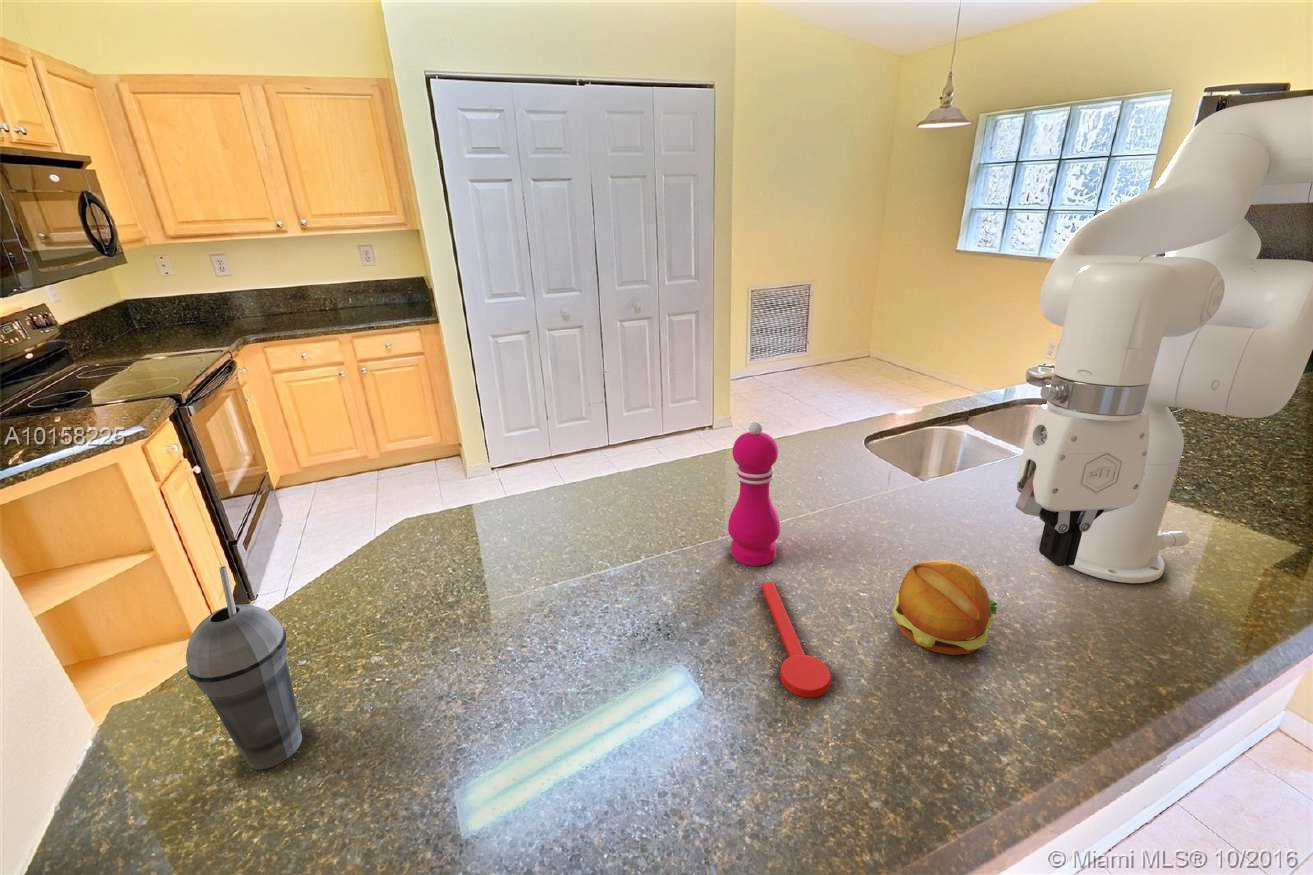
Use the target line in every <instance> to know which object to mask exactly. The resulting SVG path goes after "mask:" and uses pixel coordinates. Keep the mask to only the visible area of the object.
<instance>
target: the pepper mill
mask: <svg viewBox="0 0 1313 875" xmlns="http://www.w3.org/2000/svg"><path fill="white" fill-rule="evenodd" d="M731 452H732V458H733V461H734V462H735V463H736V464H737V466H736V467H735V472H736V474H735V477H736V479H737V480H738V481H739V493H738V498H737V501H736V502H735V505H734V507H733V508H732V511H731V512H730V516H729V518H728V525H727V531H728V534H729V536H730V537H731V539H732V540H731V550H730V551H731V556H732V558H733V559H734V560H735V561H736V562H738V563H740V564H742V565H746V566H750V567H760V566H765V565H768V564H771V563H772V562H773V561H774V560H775V559H776V556H777V543H776V540H777V539H778V538H779V536H780V534H781V522H780V518H779V515H778V513H777V510H776V508H775V506H774V504H773V502H772V499H771V495H770V494H771V493H770V484H771V481H773V479H774V472H775V468H774V466H773V465H774V464H775V463H776V462H777V460H778V457H779V447H778V444H777V442H776V440H775V438H774V437H773V436H771V435H770V434H768V433H766V432H763V425H762V424H761V423H760V422H758V421H752V422H751V423H750V424H749V426H748V431H747V432H745V433H742V434H740V435H739V436H738V437H737V438H736V439H735V441H734V443H733V446H732V451H731Z"/></svg>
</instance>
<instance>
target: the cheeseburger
mask: <svg viewBox="0 0 1313 875" xmlns="http://www.w3.org/2000/svg"><path fill="white" fill-rule="evenodd" d="M997 605H998V603H997V602H996V601H994V600H992V599H991V598H990V596H989V593H988V590H987V588H986V586H985V584H984V582H983V581H982V579H981V578H980V577H979V576H978V574H977V573H976V572H974V570H972V568H970V567H968V566H967V565H965V564H962V563H960V562H957V561H956V562H955V561H951V560H943V559H932V560H925V561H921V562H918V563H916V564H914V565H913V566H911V567H910V569H908V571H907V572H906V573H905V575H904V577H903V578H902V581H901V583H900V586H899V589H898V591H897V592H896V594H895V605H894V607H893V609H892V610H891V612H892V616H893V618H894V620H895V622H896V626H897V628H898V629H899V630H900V631H901V633H902V634H903V636H904V637H905V638H906V639H909V640H910V641H911V642H912V643H914V644H916V645H917V646H919V647H922V648H925V649H926V650H929V651H932V652H934V653H939V654H945V655H952V656H956V655H966V654H967V655H968V654H971V653H972V652H974V651H976V650H979V649H981V648H982V647H983V646H984V645H986V643H987V642H988V636H989V628H990V627H991V626H992V625H993V624H994V619H995V616H994V615H997V609H998V606H997Z"/></svg>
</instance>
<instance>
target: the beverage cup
mask: <svg viewBox="0 0 1313 875" xmlns="http://www.w3.org/2000/svg"><path fill="white" fill-rule="evenodd" d="M227 567H228V566H226V565H222V566H220V567H219V568H218V570H219V574H220V579H221V583H222V589H223V592H224V593H223V594H224V597H225V603H226V606H225V607H222V608H220V609H217V610H215V611H214V612H212V613H210V614H209V615H208V616H206V617H205V618H204V619H203V620H201V622H200V623H199V624H197V627H195V629H194V630H193V632H192V633H191V635H190V637H189V640H188V643H187V647H186V653H185V662H186V663H185V664H186V666H187V668H186V672H187V673H186V674H187V675H188V677H189V679H191V680H193V681H194V683H195V685H196V686H197V687H198V688H199V690H200V691H201V692H202V694H204V695H206V696H207V698H208V700H209V702H210V703H211V705H212V707H213V708H214V710H215V712H216V714H217V715H218V717H219V719H220V721H221V723H222V724H223V726H224V727H225V729H226V731H227V733H228V734H229V736H230V738H231V739H232V741H233V743H234V745H235V746H236V748H237V750H238V752H239V753H240V756H241V757H243V758H244V760H245V762H246V764H247V766H248V767H249V768H251V769H253V770H267V769H271V768H274V767H275V766H278V765H280V764H281V763H283V762H285V761H286V760H288V759H289V758H290V757H291V756H293V754H295V753H296V751H297V750H298V749H299V747H300V746H301V744H302V742H303V734H302V731H301V720H300V716H299V711H298V706H297V701H296V696H295V692H294V687H293V682H292V676H291V672H290V669H289V668H290V667H289V664H288V659H287V658H288V651H287V632H286V630H285V629H284V628H283V627H282V624H281V623H280V621H279V620H278V619H277V618H276V617H275V616H274V615H273V614H272V613H271V612H270V611H268V610H267V609H266V608H262V607H260V606H257V605H254V604H243V603H242V604H241V603H240V604H236V603H235V600H234V595H233V591H232V586H231V581H230V576H229V572H228V568H227Z"/></svg>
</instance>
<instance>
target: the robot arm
mask: <svg viewBox="0 0 1313 875" xmlns="http://www.w3.org/2000/svg"><path fill="white" fill-rule="evenodd" d="M1312 203H1313V95H1305V96H1297V97H1290V98H1282V99H1274V100H1267V101H1266V100H1265V101H1258V102H1250V103H1244V104H1238V105H1233V106H1231V107H1225V108H1223V109H1221V110H1218V111H1216V112H1213V113H1211V114H1210V115H1208V116H1207V117H1205V118H1203V119H1202V120H1201V121H1199V123H1197V124H1196V125H1195V126H1194V127H1193V128H1192V130H1190V132H1189V133H1188V135H1187V136H1186V138H1185V139H1184V140H1183V142H1182V144H1181V145H1180V147H1179V148H1178V150H1177V152H1176V153H1175V154H1174V156H1173V158H1172V159H1171V161H1170V163H1169V164H1168V166H1167V168H1166V169H1165V170H1164V172H1163V173H1162V175H1161V177H1160V178H1159V180H1158V181H1157V182H1156V185H1155V186H1154V187H1153V188H1151V189H1148V190H1145V191H1143V192H1141V193H1139V194H1137V195H1134V196H1132V197H1130V198H1128V199H1126V200H1124V201H1122V202H1120V203H1118V204H1116V205H1115V206H1112V207H1110V208H1108V209H1107V210H1104V211H1102V212H1100V213H1098V214H1097V215H1095V216H1093V217H1092V218H1091V219H1089V220H1087V221H1086V222H1085V223H1084V224H1082V225H1081V226H1079V227H1078V229H1077V230H1076V231H1075V232H1074V233H1072V235H1071V236H1070V237H1069V239H1068V240H1067V242H1066V243H1065V245H1064V246H1063V248H1062V249H1061V251H1060V252H1059V253H1058V255H1057V257H1056V258H1055V259H1054V261H1053V263H1052V264H1051V267H1050V268H1049V270H1048V272H1047V274H1046V276H1045V278H1044V280H1043V283H1042V285H1041V290H1040V294H1039V309H1040V311H1041V314H1042V315H1043V317H1044V318H1045V319H1046V320H1047V321H1048V322H1049V323H1051V324H1052V325H1055V326H1058V327H1061V328H1062V331H1061V335H1060V340H1059V344H1058V348H1057V353H1056V358H1055V362H1054V363H1055V364H1054V368H1053V373H1052V376H1051V381H1050V385H1044V386H1042V387H1041V389H1040V397H1041V399H1042V400H1047V401H1046V404H1042V405H1041V406H1040V408H1039V410H1038V412H1037V413H1036V416H1035V418H1034V421H1033V423H1032V425H1031V428H1030V431H1029V433H1028V436H1027V438H1026V443H1025V445H1024V448H1023V452H1022V455H1021V458H1020V464H1019V467H1018V471H1017V478H1016V490H1017V492H1019V493H1020V494H1019V496H1018V498H1017V501H1016V502H1015V508H1016V509H1017V510H1018V511H1020V512H1021V513H1023V514H1024V515H1028V516H1034V517H1038V518H1039V520H1040V521H1042V523H1044V525H1043V528H1042V529H1043V530H1042V534H1041V538H1040V542H1039V543H1040V544H1039V547H1038V551H1039V553H1040V555H1042V556H1043V557H1045V559H1047V560H1048V561H1050V562H1051V563H1052V564H1054V565H1055V566H1056V567H1064V566H1067V567H1068V568H1071V569H1073V570H1075V571H1078V572H1080V573H1083V574H1085V575H1087V576H1090V577H1094V578H1098V579H1100V580H1105V581H1110V582H1117V583H1124V584H1125V583H1126V584H1145V583H1151V582H1154V581H1156V580H1158V579H1160V578H1161V577H1162V575H1163V573H1164V572H1165V567H1166V564H1165V561H1164V559H1163V558H1162V557H1161V555H1160V554H1159V553H1160V550H1161V551H1162V550H1164V549H1166V548H1167V547H1169V548H1170V547H1171V548H1172V547H1183V546H1187V545H1188V544H1189V540H1190V539H1189V536H1188V535H1187V533H1185V532H1184V531H1181V530H1176V531H1175V530H1174V531H1166V532H1162V529H1161V525H1162V522H1163V518H1164V515H1165V512H1166V509H1167V505H1168V502H1169V498H1170V495H1171V492H1172V489H1173V485H1174V482H1175V479H1176V476H1177V472H1178V469H1179V465H1180V461H1181V459H1182V456H1183V453H1184V449H1185V448H1184V447H1185V438H1184V434H1183V431H1182V427H1181V426H1180V424H1179V422H1178V421H1177V419H1176V417H1175V416H1174V414H1173V412H1172V411H1171V410H1170V408H1177V409H1184V410H1190V411H1197V412H1205V413H1210V414H1216V415H1223V416H1230V417H1237V418H1243V419H1244V418H1245V419H1263V418H1268V417H1270V416H1273V415H1274V414H1276V413H1278V412H1280V411H1281V410H1282V409H1283V408H1285V406H1286V405H1287V404H1288V403H1289V401H1290V400H1291V398H1292V397H1293V395H1294V393H1295V392H1296V390H1297V388H1298V386H1299V383H1300V381H1301V379H1302V377H1303V374H1304V371H1305V369H1306V366H1307V364H1308V363H1309V359H1310V357H1311V355H1312V352H1313V261H1310V260H1309V261H1308V260H1301V259H1278V258H1277V259H1276V258H1275V259H1274V258H1258V257H1259V255H1260V252H1261V250H1262V240H1261V237H1260V235H1259V234H1258V232H1257V231H1256V229H1255V228H1254V226H1252V225H1251V223H1250V222H1249V221H1248V220H1247V219H1246V218H1245V216H1246V215H1247V213H1248V211H1249V209H1250V207H1251V206H1255V205H1256V206H1257V205H1281V204H1282V205H1284V204H1285V205H1286V204H1312ZM1162 254H1165V255H1164V256H1160V255H1162Z"/></svg>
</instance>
